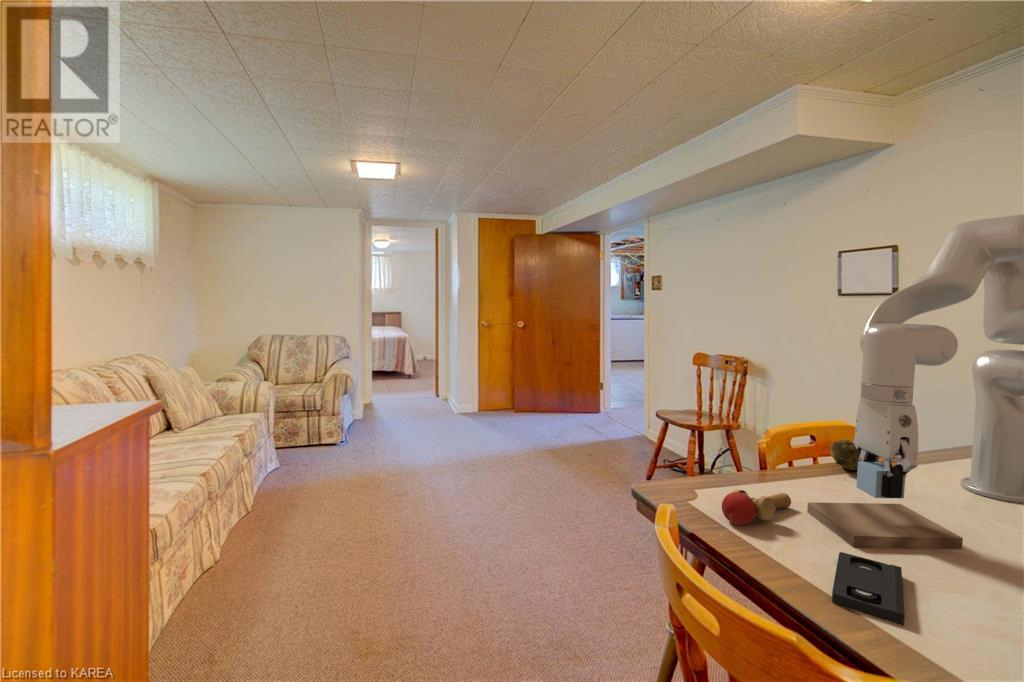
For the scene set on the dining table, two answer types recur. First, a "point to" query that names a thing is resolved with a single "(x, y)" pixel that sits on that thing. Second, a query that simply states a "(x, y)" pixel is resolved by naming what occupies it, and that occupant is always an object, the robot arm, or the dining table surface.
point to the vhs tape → (869, 587)
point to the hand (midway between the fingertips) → (879, 490)
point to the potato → (845, 454)
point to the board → (883, 526)
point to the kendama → (752, 506)
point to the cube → (872, 478)
